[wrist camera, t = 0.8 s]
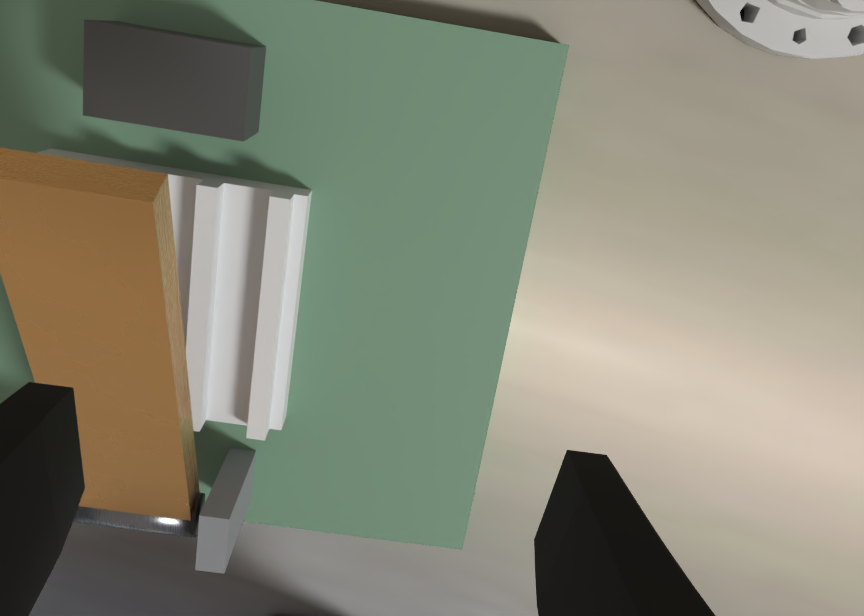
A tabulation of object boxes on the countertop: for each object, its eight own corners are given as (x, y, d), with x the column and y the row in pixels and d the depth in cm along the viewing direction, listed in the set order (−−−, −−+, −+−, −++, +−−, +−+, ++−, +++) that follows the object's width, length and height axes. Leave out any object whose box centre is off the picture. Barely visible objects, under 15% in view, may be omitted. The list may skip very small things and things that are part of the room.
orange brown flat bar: (206, 507, 26) (194, 545, 25) (90, 492, 26) (74, 530, 25) (175, 169, 16) (154, 209, 15) (-9, 139, 16) (-42, 178, 15)
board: (460, 530, 30) (468, 629, 25) (-131, 453, 28) (-248, 542, 23) (561, 44, 24) (599, 47, 19) (-177, -86, 23) (-346, -120, 18)
